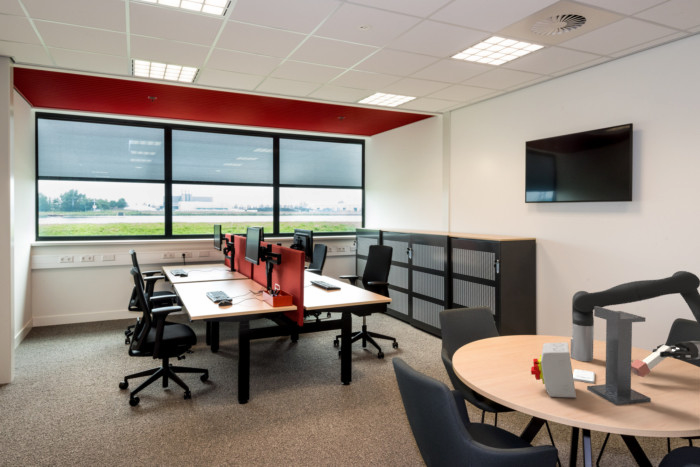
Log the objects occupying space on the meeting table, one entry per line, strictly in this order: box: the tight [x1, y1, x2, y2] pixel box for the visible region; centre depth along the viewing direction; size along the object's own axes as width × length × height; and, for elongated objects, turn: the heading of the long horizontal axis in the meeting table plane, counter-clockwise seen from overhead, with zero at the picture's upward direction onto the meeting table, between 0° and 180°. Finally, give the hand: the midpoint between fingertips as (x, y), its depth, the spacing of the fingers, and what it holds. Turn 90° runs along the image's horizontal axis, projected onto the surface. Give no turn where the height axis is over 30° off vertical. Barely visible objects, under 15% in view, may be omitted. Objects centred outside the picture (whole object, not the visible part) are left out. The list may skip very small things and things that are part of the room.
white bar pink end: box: [631, 344, 672, 378], centre depth 183 cm, size 18×4×4 cm
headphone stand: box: [586, 306, 652, 406], centre depth 169 cm, size 15×15×34 cm
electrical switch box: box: [530, 341, 577, 398], centre depth 175 cm, size 15×15×20 cm
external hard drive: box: [572, 368, 596, 385], centre depth 189 cm, size 2×8×12 cm
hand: (657, 353), depth 183 cm, fingers closed on white bar pink end, 3 cm apart
